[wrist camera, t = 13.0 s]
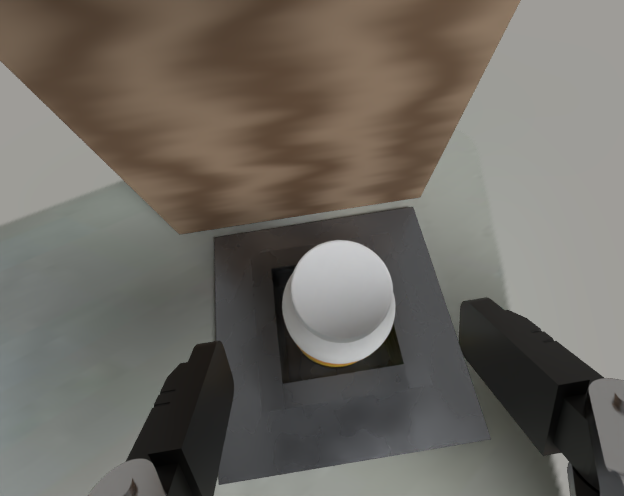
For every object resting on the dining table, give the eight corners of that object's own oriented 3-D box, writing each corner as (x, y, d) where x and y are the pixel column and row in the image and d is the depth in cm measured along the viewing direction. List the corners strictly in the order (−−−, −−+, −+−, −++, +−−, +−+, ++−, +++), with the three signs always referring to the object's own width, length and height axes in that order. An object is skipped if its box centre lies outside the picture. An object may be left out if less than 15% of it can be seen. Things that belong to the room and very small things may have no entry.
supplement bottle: (367, 377, 19) (406, 377, 10) (285, 358, 20) (254, 341, 11) (378, 296, 21) (418, 236, 12) (304, 281, 22) (291, 213, 13)
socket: (220, 482, 17) (193, 509, 14) (216, 239, 24) (196, 215, 20) (487, 437, 18) (528, 453, 14) (411, 209, 24) (426, 180, 21)
